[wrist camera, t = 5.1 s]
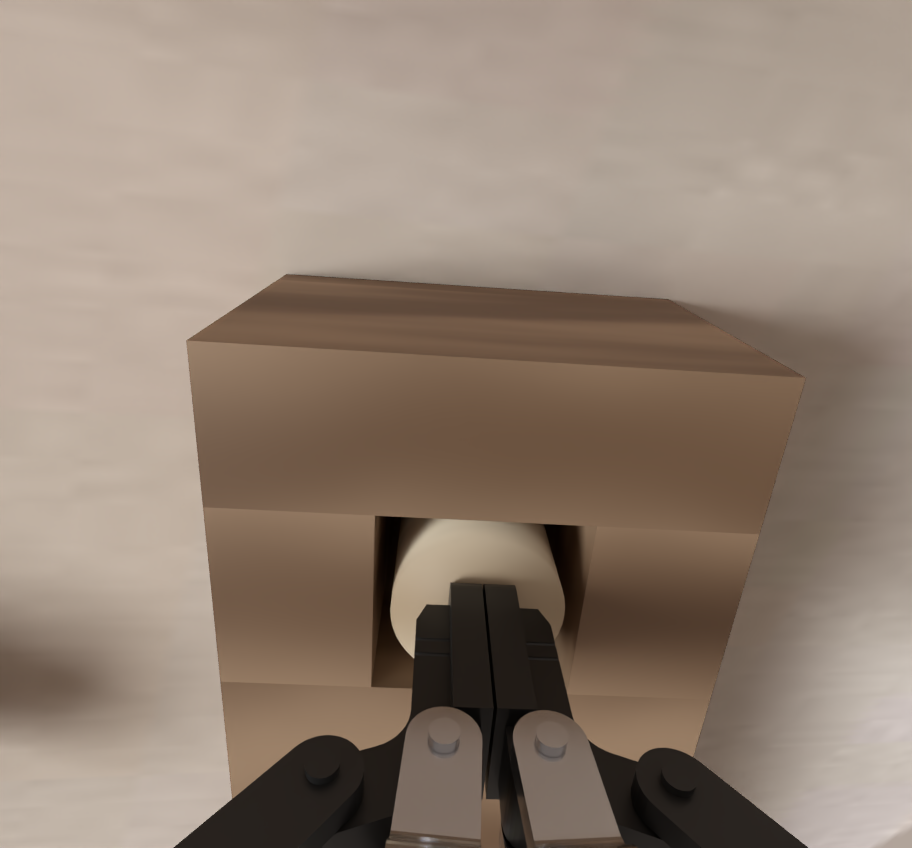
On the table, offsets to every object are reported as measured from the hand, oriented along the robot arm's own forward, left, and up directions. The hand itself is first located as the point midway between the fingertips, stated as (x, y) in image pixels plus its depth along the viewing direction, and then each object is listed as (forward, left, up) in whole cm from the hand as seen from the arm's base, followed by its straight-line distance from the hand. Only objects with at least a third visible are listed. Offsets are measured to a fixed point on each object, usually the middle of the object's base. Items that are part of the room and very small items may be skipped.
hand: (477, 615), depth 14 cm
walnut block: (+8, 0, -8) cm, 11 cm away
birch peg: (0, 0, -7) cm, 7 cm away
